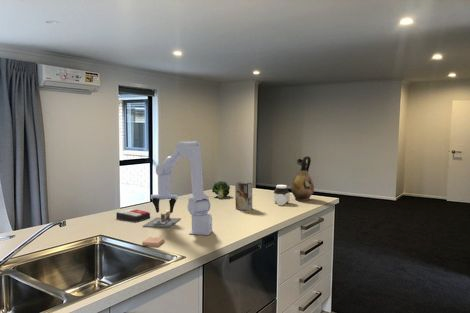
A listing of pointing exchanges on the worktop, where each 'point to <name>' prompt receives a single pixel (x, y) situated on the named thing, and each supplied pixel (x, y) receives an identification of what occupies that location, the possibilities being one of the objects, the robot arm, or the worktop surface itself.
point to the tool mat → (170, 223)
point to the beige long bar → (163, 218)
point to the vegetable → (221, 189)
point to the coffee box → (243, 195)
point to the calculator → (132, 215)
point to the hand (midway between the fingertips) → (164, 212)
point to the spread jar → (281, 194)
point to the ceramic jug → (303, 181)
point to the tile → (153, 241)
